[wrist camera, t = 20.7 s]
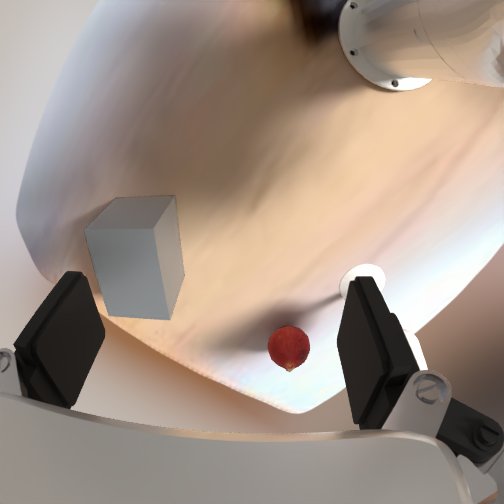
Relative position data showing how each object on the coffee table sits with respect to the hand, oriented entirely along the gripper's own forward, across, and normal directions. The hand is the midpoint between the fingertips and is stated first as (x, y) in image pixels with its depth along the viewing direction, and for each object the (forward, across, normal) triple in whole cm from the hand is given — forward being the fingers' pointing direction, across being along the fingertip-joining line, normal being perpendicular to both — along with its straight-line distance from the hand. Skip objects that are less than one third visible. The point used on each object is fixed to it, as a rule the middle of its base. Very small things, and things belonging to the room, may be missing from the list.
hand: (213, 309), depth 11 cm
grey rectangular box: (+26, +12, +11) cm, 31 cm away
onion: (+26, -6, +26) cm, 38 cm away
